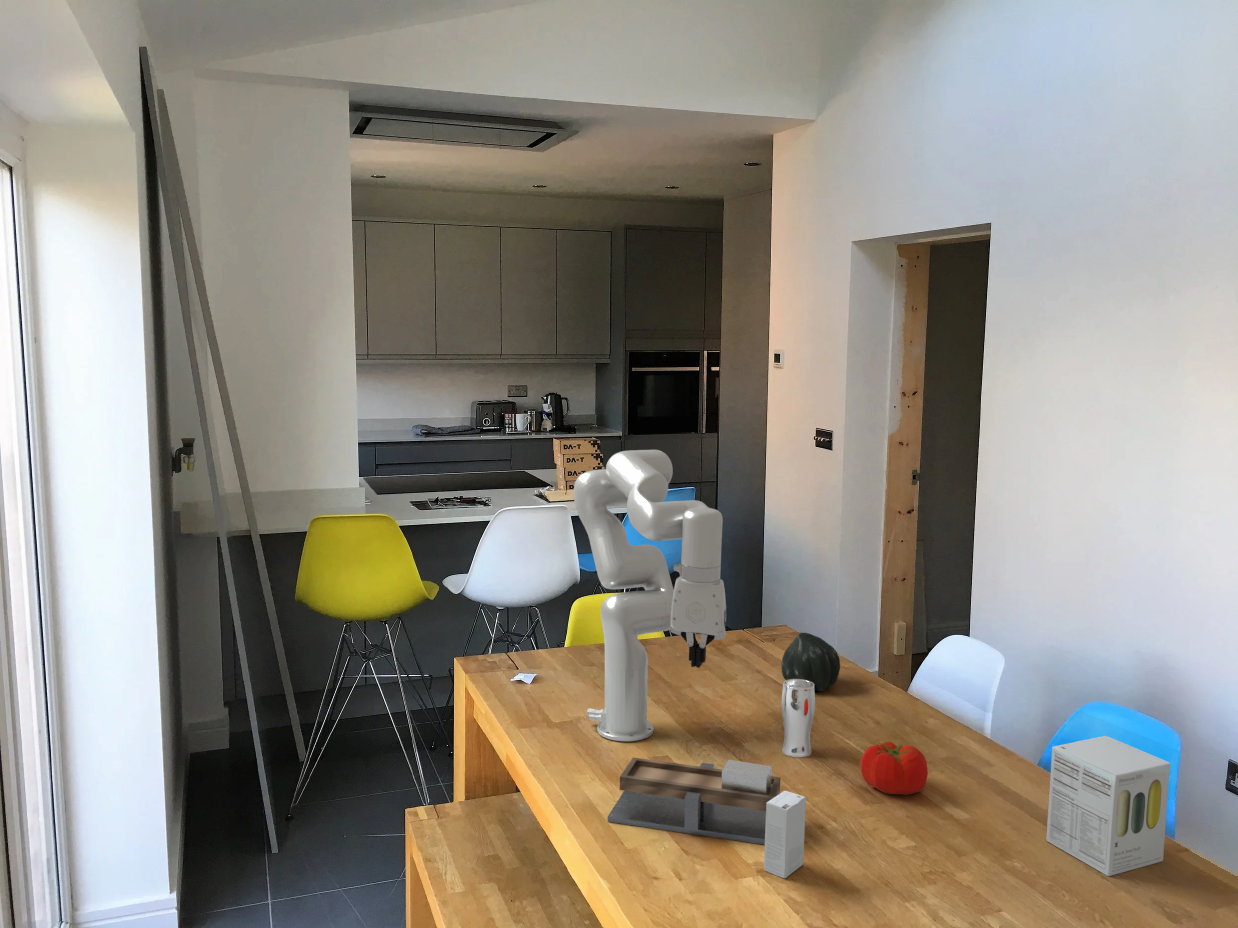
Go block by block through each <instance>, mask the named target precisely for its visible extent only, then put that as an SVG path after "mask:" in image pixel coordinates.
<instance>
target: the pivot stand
mask: <svg viewBox="0 0 1238 928" xmlns="http://www.w3.org/2000/svg"><path fill="white" fill-rule="evenodd" d="M699 766H700V767H707V768H714V769H715V764H714V763H707V762H701V763H700V765H699ZM607 823H612V824H613V823H614V824H621V825H629V826H632V827H633V826H635V827H640V828H641V827H642V828H648V829H654V830H661V831H668V832H675V833H681V834H689V835H696V836H701V837H702V836H704V837H710V838H716V839H722V840H730V841H738V842H742V843H744V842H745V843H750V844H757V845H764V846H765V827H766V811H761V810H754V809H747V808H740V807H734V806H727V805H720V804H713V803H706V802H701V793H694V792H687V794H686V796H685V799H679V798H672V797H665V796H658V795H651V794H644V793H637V792H631V791H624V790H623V792H622V793H621V795H620V796H619V798H618V800H617V801H616V803H615V804H614V805H613V807H612V809H611V811H610V812H609V813H608V815H607Z"/></svg>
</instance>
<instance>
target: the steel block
mask: <svg viewBox="0 0 1238 928" xmlns="http://www.w3.org/2000/svg"><path fill="white" fill-rule="evenodd" d="M772 769H773V766H771V765H765V764H759V763H752V762H748V761H747V762H746V761H741V760H740V761H739V760H734V759H728V760H727V761H726V762H725V765H724V766H723V768H722V787H721V789H727V790H734V791H742V792H749V793H756V794H763V795H768V793H769V791H770V789H771V777H772Z"/></svg>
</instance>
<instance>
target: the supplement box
mask: <svg viewBox="0 0 1238 928" xmlns="http://www.w3.org/2000/svg"><path fill="white" fill-rule="evenodd" d="M1050 762H1051V764H1050V777H1049V778H1050V779H1049V781H1050V782H1049V796H1048V797H1049V798H1048V807H1047V808H1048V810H1047V823H1046V824H1047V825H1046V838H1045V839H1046V842H1048V843H1050V844H1051V845H1053V846H1055V847H1057V849H1059V850H1062V851H1064V853H1065V852H1066V853H1067V854H1069V855H1070V856H1072V857H1074V858H1076V859H1077V860H1080V861H1081V862H1083V863H1084V864H1087V865H1088V866H1089V867H1092V868H1093V869H1094V870H1097V871H1099V872H1100V873H1102V874H1104V876H1106V877H1111V876H1114V875H1119V874H1122V873H1125V872H1128V871H1133V870H1137V869H1140V868H1144V867H1146V866H1150V865H1153V864H1157V863H1161V862H1164V855H1165V853H1164V852H1165V840H1166V839H1165V838H1166V825H1167V814H1168V813H1167V811H1168V800H1169V799H1168V797H1169V796H1168V795H1169V786H1170V785H1169V783H1170V773H1171V772H1170V770H1171V762H1169V761H1167V760H1166V759H1165V760H1164V759H1162V758H1160V757H1157V756H1155V755H1153V754H1151V753H1148V752H1145V751H1143V750H1140V749H1139V748H1136V747H1134V746H1131V745H1129V744H1127V743H1125V742H1121V741H1120V740H1117V739H1115V738H1113V737H1109V736H1108V735H1103V736H1097V737H1093V738H1088V739H1087V738H1086V739H1083V740H1077V741H1074V742H1069V743H1065V744H1064V743H1063V744H1060V745H1053V746H1052V749H1051V761H1050Z"/></svg>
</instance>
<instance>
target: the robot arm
mask: <svg viewBox="0 0 1238 928" xmlns="http://www.w3.org/2000/svg"><path fill="white" fill-rule="evenodd" d="M673 471H674V469H673V464H672V461H671V459H670V457H669V456H668V455H667V454H666V453H665V452H663V451H661V450H659V449H637V450H632V449H631V450H623V451H619V452H616V453H614V454H613V455H611V457H610V458H609V459H608V461H607V463H606V465H605V468H602V469H595V470H594V469H593V470H589V471H586V472H583V473H582V474H580V475H579V476H578V477H576V480H575V481H574V486H573V487H574V488H573V500H574V506H575V510H576V512H577V515H578V517H579V519H580V521H581V523H582V525H583V527H584V529H585V531H586V533H587V535H588V539H589V544H590V548H591V552H592V557H593V561H594V564H595V569H596V572H597V573H596V574H597V577H598V580H599V582H600V584H601V585H602V586H603V587H604V588H605V589H607V590H622V589H633V588H643V589H644V590H636V591H626V592H618V593H615V594H612V595H610V596H608V597H607V598H605V599H604V601H603V602H602V603H601V607H600V620H601V625H602V631H603V641H604V642H603V643H604V708H600V709H597V708H591V707H587V710H586V717H588V720H589V721H597V722H598V723H597V729H596V730H597V733H598V734H599V735H600V736H601V737H603V738H605V739H607V740H610V741H611V740H612V741H615V742H637V741H642V740H644V739H647V738H649V737H651V736H652V735H653V733H654V729H655V727H654V724H653V723H652V722H650V721H649V720H648V654H647V650H646V648H645V647H644V645H643V644H642V643H641V641H640V640H639V638H638V637H639V636H641V635H646V634H647V635H648V634H654V633H661V632H667V631H670V632H671V633H672V634H675V635H677V636H680V637H682V639H683V641H685V642H686V644H687V646H688V661H689V662H691V663H690V666H691V667H692V668H695V667H696V668H698V669H700V668H701V666H702V665H703V663H705V662H706V659H707V658H706V657H707V656H706V655H707V646H708V645H709V644H710V643H711V642H713V641H719V640H725V638H726V636H727V633H726V625H727V624H726V623H727V604H726V603H727V602H726V592H725V591H726V589H725V583H724V580H723V579H721V569H722V566H721V563H722V545H723V543H722V542H723V541H722V539H723V522H724V519H723V515H722V513H721V512H720V511H719V510H718V509H715V508H711V507H709V506H707V504H705V502H703V501H700V500H695V499H692V500H690V499H689V500H672V501H665V499H666V497H667V495H668V492H669V484H670V482H671V480H672V478H673V475H674V472H673ZM615 506H616V507H617V506H620V507H621V506H626V510H627V515H628V519H629V521H630V524H631V526H632V527H633V528H634V529H635V530H636V531H637V532H638V533H639V534H640V535H641V536H643V537H644V538H645V539H647V540H650V541H653V542H661V541H662V542H663V541H673V540H675V541H676V540H681V555H680V557H681V560H680V563H678V564H676V563H675V564H673V571H674V572H677V573H679V576H678V577H677V578H676V579H675V584H674V587H673V584H672V580H671V576H670V573H669V569H668V568H669V567H668V564H667V560H666V559H665V556H664V554H663V553H662V551H661V550H660V549H659V548H658V547H657V546H655V545H652V544H636V545H632V544H631V543H630V542H629V540H628V537H627V532H626V527H625V526H624V524H623V523H622V522H621V520H620V519H619V518H618V517H617V516H616V514H614V513H613V512H611V511H610V510H609V508H608V507H615ZM697 634H699V635H700V638H699V639H700V640H699V642H698V640H697Z"/></svg>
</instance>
